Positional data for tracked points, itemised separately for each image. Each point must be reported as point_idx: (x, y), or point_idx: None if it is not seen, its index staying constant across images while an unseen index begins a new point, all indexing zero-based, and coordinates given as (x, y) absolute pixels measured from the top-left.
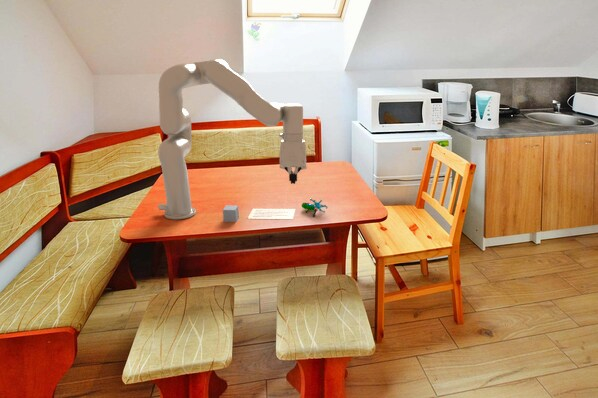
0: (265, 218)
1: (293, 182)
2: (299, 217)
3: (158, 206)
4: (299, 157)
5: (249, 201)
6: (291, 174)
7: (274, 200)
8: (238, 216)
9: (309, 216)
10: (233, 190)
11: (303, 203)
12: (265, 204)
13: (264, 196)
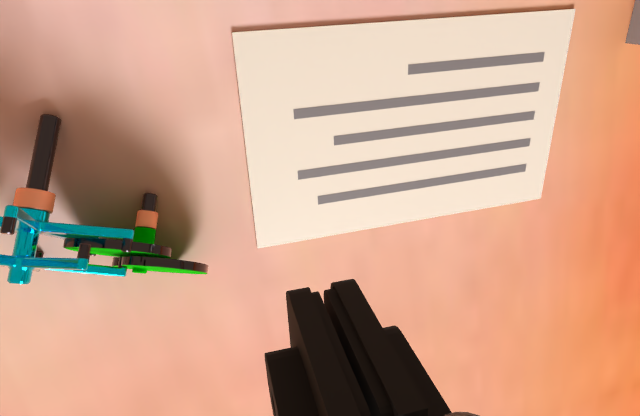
0: (454, 24)
1: (314, 302)
2: (182, 89)
3: None
4: None
5: (556, 303)
6: (410, 408)
7: (419, 353)
8: (637, 28)
9: (96, 125)
10: (624, 409)
11: (183, 261)
12: (468, 283)
13: (479, 388)
